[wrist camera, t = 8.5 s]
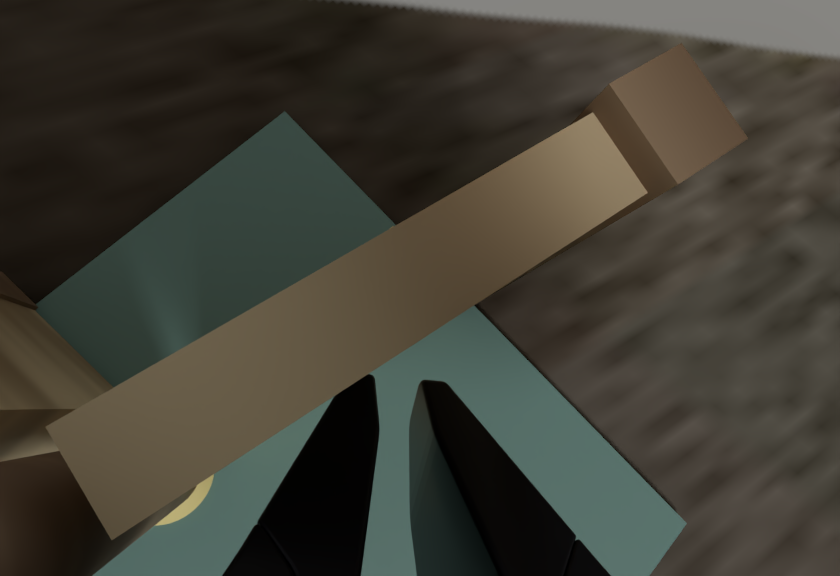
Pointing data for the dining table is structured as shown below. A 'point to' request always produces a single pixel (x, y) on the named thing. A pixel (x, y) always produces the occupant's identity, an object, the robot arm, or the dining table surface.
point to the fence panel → (389, 293)
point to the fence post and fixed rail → (47, 452)
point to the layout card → (395, 386)
